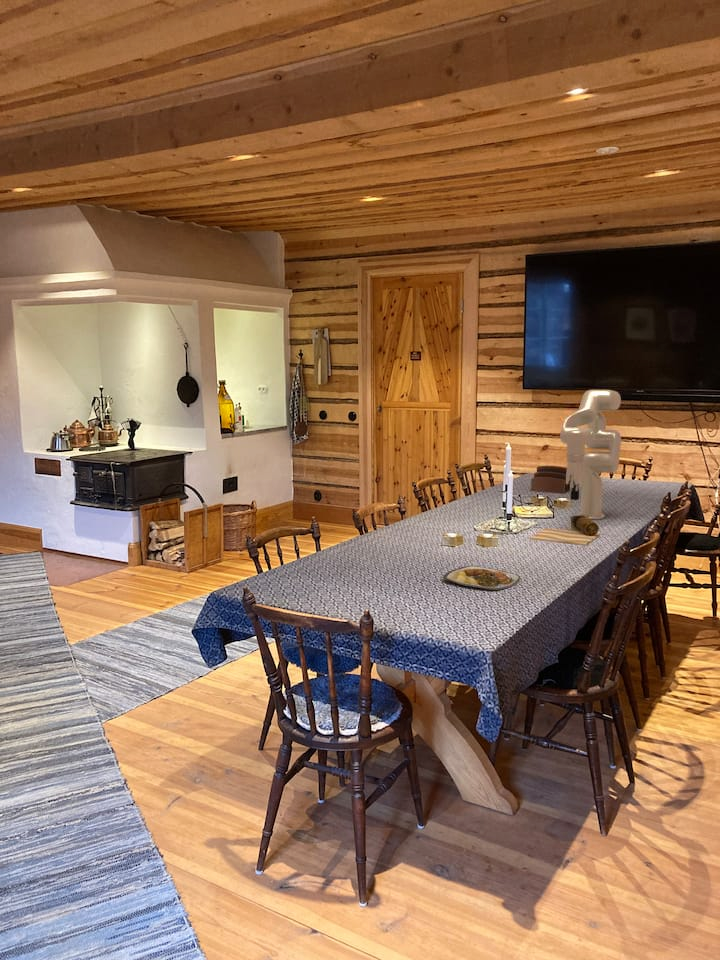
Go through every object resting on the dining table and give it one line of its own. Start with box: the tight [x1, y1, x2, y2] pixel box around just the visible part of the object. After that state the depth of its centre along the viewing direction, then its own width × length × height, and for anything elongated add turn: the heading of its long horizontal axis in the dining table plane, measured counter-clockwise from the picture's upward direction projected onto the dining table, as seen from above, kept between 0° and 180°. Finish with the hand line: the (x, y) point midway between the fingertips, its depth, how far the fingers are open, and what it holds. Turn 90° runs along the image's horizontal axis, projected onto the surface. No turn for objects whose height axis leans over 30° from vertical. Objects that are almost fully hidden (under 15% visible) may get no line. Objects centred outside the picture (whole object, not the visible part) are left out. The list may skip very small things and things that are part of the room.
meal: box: [442, 565, 521, 591], centre depth 273 cm, size 25×25×3 cm
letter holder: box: [530, 465, 571, 494], centre depth 441 cm, size 10×20×14 cm, turn 58°
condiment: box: [570, 515, 600, 535], centre depth 335 cm, size 7×8×12 cm
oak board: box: [529, 527, 601, 547], centre depth 331 cm, size 20×24×1 cm
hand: (574, 499), depth 340 cm, fingers closed
